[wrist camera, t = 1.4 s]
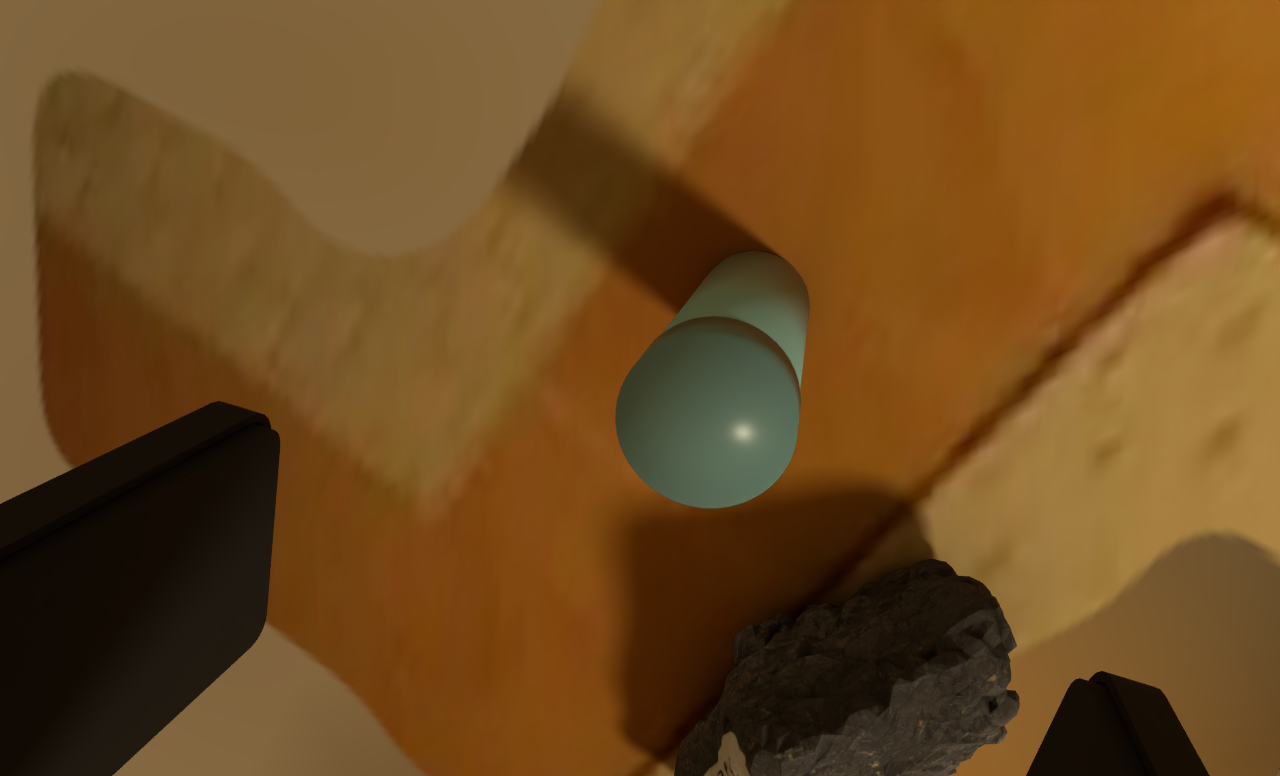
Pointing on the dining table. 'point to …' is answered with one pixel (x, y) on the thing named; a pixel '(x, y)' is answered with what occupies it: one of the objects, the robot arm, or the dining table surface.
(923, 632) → the rock
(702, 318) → the cylinder
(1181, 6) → the dining table surface
